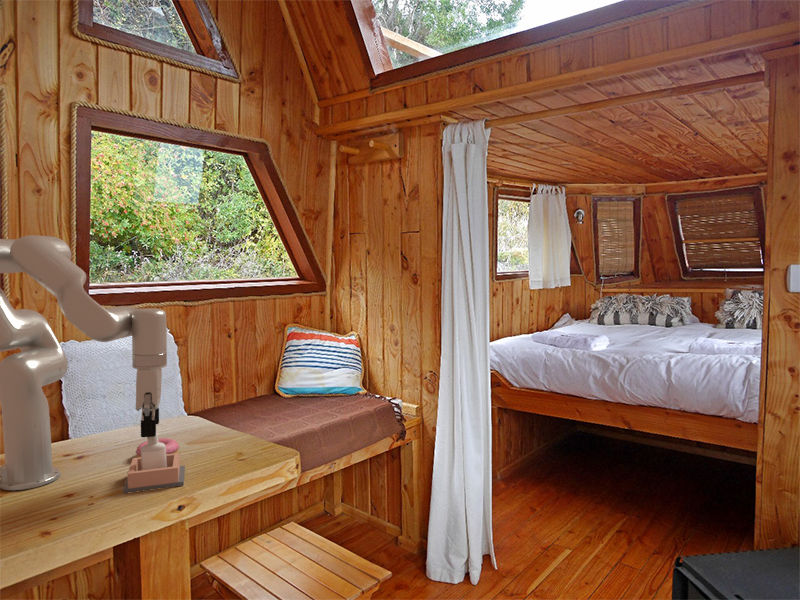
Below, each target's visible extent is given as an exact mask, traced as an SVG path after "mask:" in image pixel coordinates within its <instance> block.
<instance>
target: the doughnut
mask: <svg viewBox="0 0 800 600" xmlns="http://www.w3.org/2000/svg"><path fill="white" fill-rule="evenodd" d="M158 442H161V443H164V444H165V446H166V454H174V453H179V448H180V445H179V442H177V441H176V440H175V439H172V438H167V437H166V438H165V437H163V438H162V437H161V438H158ZM146 444H148V441H147V440H146V441H144V442H141V443H140V444H138V446H136V449H135V450H136V451H135V454H136V458H139V457H141V447H142V446H144V445H146Z"/></svg>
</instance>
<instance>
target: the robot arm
mask: <svg viewBox="0 0 800 600" xmlns="http://www.w3.org/2000/svg"><path fill="white" fill-rule="evenodd" d="M14 273H15V274H16V273H25V274H26V275H28V276H29V277H30V278H31V279H33V280H34V281H35V282H36V283H38V284H39V285H40V286H42V287H43V288H44V289H45V290H46V291H47V292H49V293H50V294H52V295H53V297H55V298H56V300H57V304H58V307H59V308H60V310H61V312H62V314H63V315H64V317H65V318H66V319H67V321H69V322H70V324H72V325H73V326H74V327H75V328H76V329H78V330H79V331H80V332H82V333H83V334H84V335H85V336H87V338H90V339H92V340H94V341H96V342H100V343H107V342H112V341H115V340H120V339H124V338H128V337H131V339H132V340H131V343H132V344H131V347H132V349H131V351H132V352H131V356H132V358H131V359H132V360H131V361H132V367H131V368H133V369H136V378H135V379H136V380H135V381H136V382H135V383H136V384H135V410H136V411H138V412H139V411H140V410H141V419H140V437H141V438H147V437H154V436H156V433H157V425H159V424H160V407H159V406H160V403H161V398H162V397H161V395H162V374H163V373H162V369H163V368H166V367H167V365H168V355H167V354H168V351H167V350H168V349H167V346H168V345H167V344H168V343H167V341H168V337H167V332H168V331H167V325H168V324H167V313H166V311H165V310H163V309H161V308H155V307H154V308H153V307H152V308H138V307H133V306H123V305H122V306H117V307H115V306H113V307H109V308H108V307H107V308H105V307H104V306H102V305H101V304H99V303H98V302H97V301H96V300H94V299H93V298H92V297H91V296H90V295H89V294H88V293H87V291H86V290H85V289H84V285H85V283H86V282H87V273H86V272H85V271H84V270H83V269H82V268H81V267H79V266H78V265H77V264H76V263H74V262H73V261H72V251H71V248H70V246H69V245H68V244H67V243H66V241H64V240H63V239H61V238H58V237H56V236H50V235H32V234H31V235H23V236H21V237H19V238H17V239H15V238H13V239H11V238H10V239H9V238H0V274H14ZM17 349H19V350H20V352H17V353H13V354H11V355H8V356H6V357H5V358H3V359H2V360H1V361H0V407H1V408H0V409H1V410H0V411H1V420H2V434H3V435H2V436H3V449H4V450H3V451H4V463H5V464H2V465H1V466H0V489H1V490H5V491H23V490H29V489H34V488H38V487H42V486H44V485H47V484H50V483H52V482H54V481H56V480H57V479H58V478H59V477H60V476H61V469H59V468H58V467H56V466H53V454H52V451H53V450H52V435H51V420H50V419H51V418H50V417H51V416H50V406H49V401H48V399H47V396H46V395H45V393H44V391H43V388H42V387H45V386H48V385H52V384H53V383H56V382H58V381H59V380H61V379H62V378H63V377H65V375H66V373H67V370H68V367H69V366H68V359H67V356H66V354H65V352H64V350H63V348H62V346H61V344H60V342H59V340H58V338H57V337H56V334H55V333H54V330H53V329H52V327H51V325H50V323H49V322H48V320H47V319H46V318H45V317H44V316H43V315H42V314H41V313H39V312H37V311H36V310H33V309H30V308H29V309H28V308H21V309H20V308H19V309H15V308H14V307H13V306H12V305H11V303H10V301H9V299H8V297H7V294H6V293H5V291H4V290H3V289H2V288H1V287H0V353H1V352H7V351H13V350H17Z"/></svg>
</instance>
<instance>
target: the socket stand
mask: <svg viewBox="0 0 800 600" xmlns="http://www.w3.org/2000/svg"><path fill="white" fill-rule="evenodd" d="M180 454H181V453H180V452H178V453H174V454H166V461H167V467H166V468H158V469H149V470H141V457H139V458H138V457H133V458H132V459H131V463H130V466H129V468H128V472H127V476H126V479H125V482H124V485H123V487H122V494H123V493H125V494H129V493H128V492H133V493H138V492H137V491H140V492H144V491H143V490H148V491H151V490H150V489H155V490H159V489H158V488H163V489H167V488H166V487H170V488H175V487H174V486H178V487H184V486H183V485H185V474H186V473H185V471H186V465H181V455H180ZM184 473H185V474H184Z"/></svg>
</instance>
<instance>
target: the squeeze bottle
mask: <svg viewBox="0 0 800 600" xmlns="http://www.w3.org/2000/svg"><path fill="white" fill-rule="evenodd" d="M146 438H147V439H146V441H148V444H146V445H144V446H142V447H141V470H149V469H158V468H166V467H167V461H166V446H165V444H164V443H161V442H158V439H159V433H158V432H156V436H154V437H146Z"/></svg>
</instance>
